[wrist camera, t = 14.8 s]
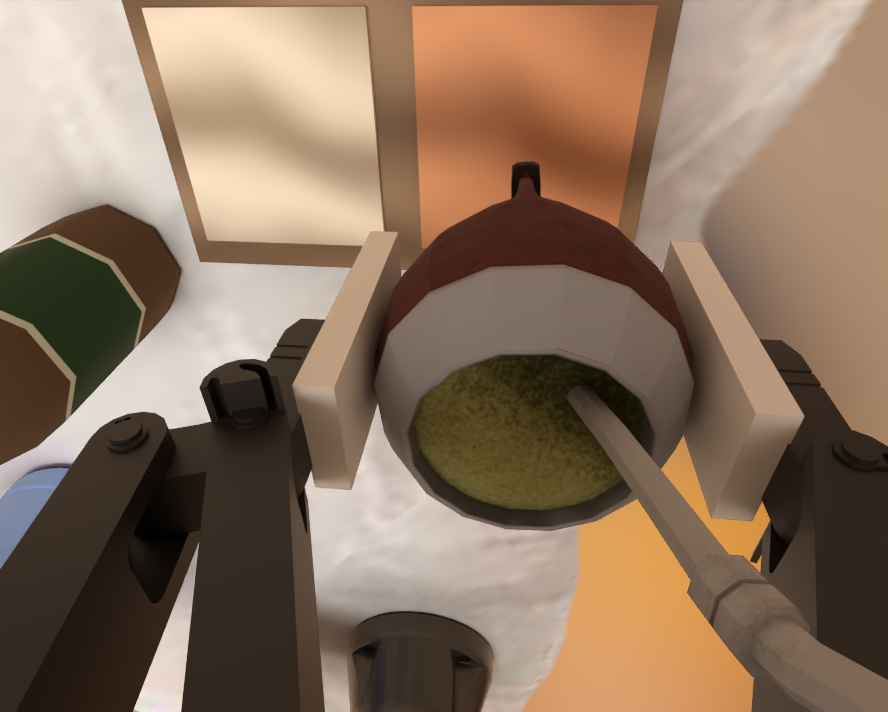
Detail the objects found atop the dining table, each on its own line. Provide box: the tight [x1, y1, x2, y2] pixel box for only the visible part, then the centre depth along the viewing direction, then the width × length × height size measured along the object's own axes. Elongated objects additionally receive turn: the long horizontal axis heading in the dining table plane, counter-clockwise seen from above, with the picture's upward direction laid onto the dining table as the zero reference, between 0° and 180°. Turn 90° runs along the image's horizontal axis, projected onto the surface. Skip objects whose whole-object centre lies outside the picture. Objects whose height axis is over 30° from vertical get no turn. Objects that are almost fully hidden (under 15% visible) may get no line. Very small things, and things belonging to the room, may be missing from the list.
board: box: [122, 0, 683, 270], centre depth 28 cm, size 14×24×2 cm, turn 91°
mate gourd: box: [374, 161, 888, 712], centre depth 11 cm, size 8×8×15 cm
